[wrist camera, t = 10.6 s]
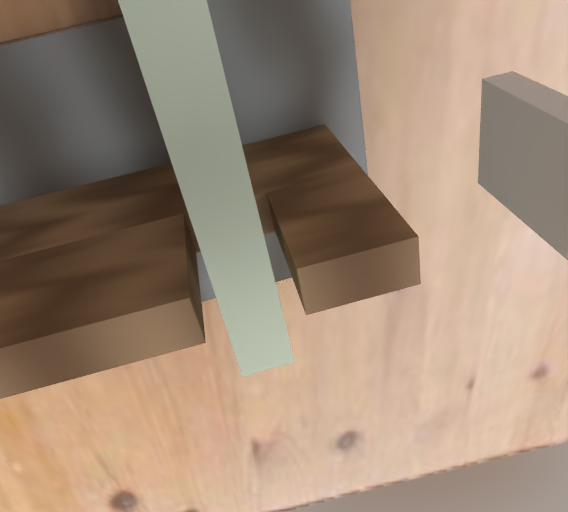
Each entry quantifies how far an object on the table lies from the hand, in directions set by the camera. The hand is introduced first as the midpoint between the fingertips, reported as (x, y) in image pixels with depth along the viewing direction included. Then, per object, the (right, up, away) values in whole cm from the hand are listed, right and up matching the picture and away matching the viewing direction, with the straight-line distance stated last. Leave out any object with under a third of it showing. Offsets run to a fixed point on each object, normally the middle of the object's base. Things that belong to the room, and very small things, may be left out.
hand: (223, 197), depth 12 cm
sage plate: (-3, +7, +13) cm, 15 cm away
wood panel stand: (-5, +3, +16) cm, 17 cm away
